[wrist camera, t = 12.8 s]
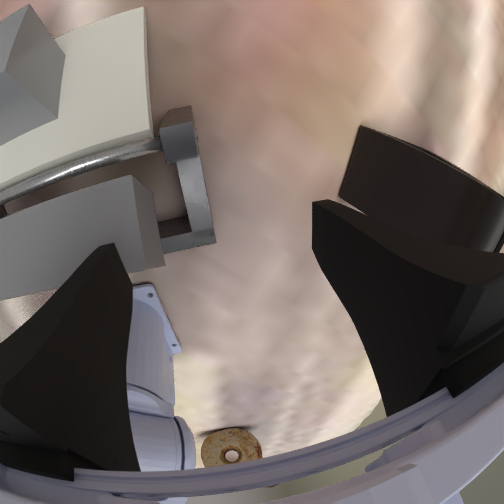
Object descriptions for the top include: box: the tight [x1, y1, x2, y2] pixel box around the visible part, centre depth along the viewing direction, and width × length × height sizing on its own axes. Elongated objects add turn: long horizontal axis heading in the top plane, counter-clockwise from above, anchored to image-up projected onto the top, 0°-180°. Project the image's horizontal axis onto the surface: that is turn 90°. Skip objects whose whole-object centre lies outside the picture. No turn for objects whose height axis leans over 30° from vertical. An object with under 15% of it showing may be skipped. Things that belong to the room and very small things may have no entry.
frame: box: [0, 106, 216, 254], centre depth 15 cm, size 9×18×7 cm, turn 96°
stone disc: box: [201, 428, 262, 468], centre depth 40 cm, size 10×4×10 cm, turn 91°
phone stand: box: [339, 125, 504, 253], centre depth 17 cm, size 9×6×12 cm, turn 78°
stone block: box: [0, 4, 66, 146], centre depth 8 cm, size 4×4×5 cm
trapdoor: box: [0, 7, 165, 301], centre depth 13 cm, size 15×14×4 cm
